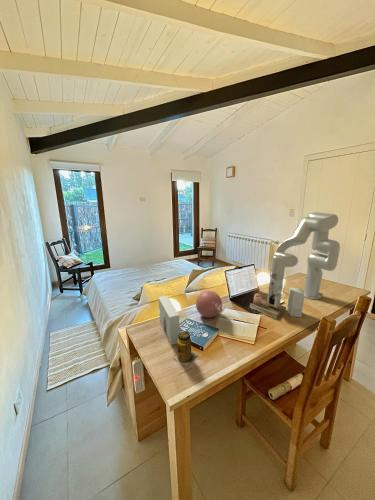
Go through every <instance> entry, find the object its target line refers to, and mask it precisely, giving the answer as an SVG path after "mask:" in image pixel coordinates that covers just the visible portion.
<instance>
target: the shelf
mask: <svg viewBox="0 0 375 500" xmlns="http://www.w3.org/2000/svg"><path fill="white" fill-rule="evenodd" d="M250 308H251V310H253V309H254V310H253V311H255V310H257V311H259V312H258V313H260V312H261V313H260V314H262V315H265V316H268V317H270V318H272V319H275V320H277V319H278V318H279V317H280V316H281V315H282V314H283V313H284V312H285V311H286V310H287V306H285V305H281V304H280V305H279V306H278V307H277V308H275V307H273V306H270V305H267V298H263V297H262V299H261V305H260V306H256V305H254V304H253V302H252V303H249V309H250ZM257 311H256V312H257Z"/></svg>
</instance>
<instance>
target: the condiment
mask: <svg viewBox="0 0 375 500" xmlns="http://www.w3.org/2000/svg"><path fill="white" fill-rule="evenodd" d="M176 345H177V347H176V348H177V354H176V355H175V356H174V357H173V359H174V360H175V361H177V362H178V363H180V364H182V365H183V366H184V367H187V366H188V365H190V363H191V362H192V361H194V359H196V358H197V356H198V354H197V353H195V352H194V351H192V339H191V334H190V332H189V331H180V333H179V335H178V342H177V344H176Z"/></svg>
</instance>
